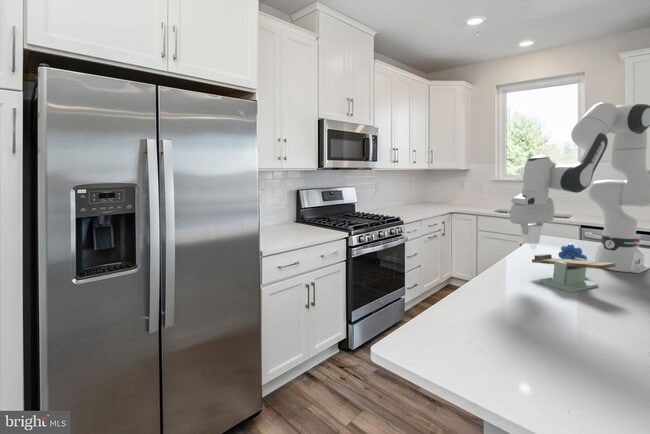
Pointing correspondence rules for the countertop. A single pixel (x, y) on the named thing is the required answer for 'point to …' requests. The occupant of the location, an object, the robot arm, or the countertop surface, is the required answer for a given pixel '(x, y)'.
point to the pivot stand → (569, 277)
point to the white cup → (532, 234)
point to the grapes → (571, 253)
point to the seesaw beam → (572, 262)
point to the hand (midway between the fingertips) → (531, 233)
